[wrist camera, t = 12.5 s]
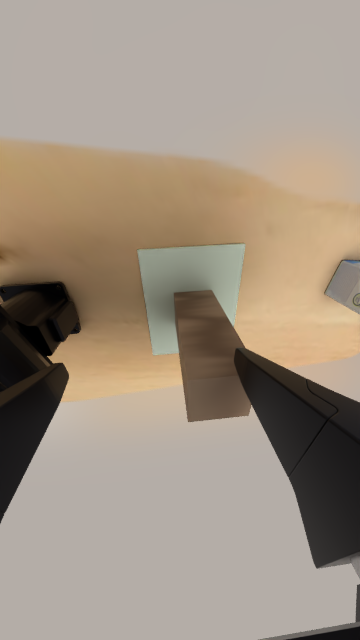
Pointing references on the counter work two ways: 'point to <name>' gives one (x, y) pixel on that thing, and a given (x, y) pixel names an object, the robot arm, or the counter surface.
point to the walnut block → (208, 358)
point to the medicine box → (346, 285)
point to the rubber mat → (187, 284)
